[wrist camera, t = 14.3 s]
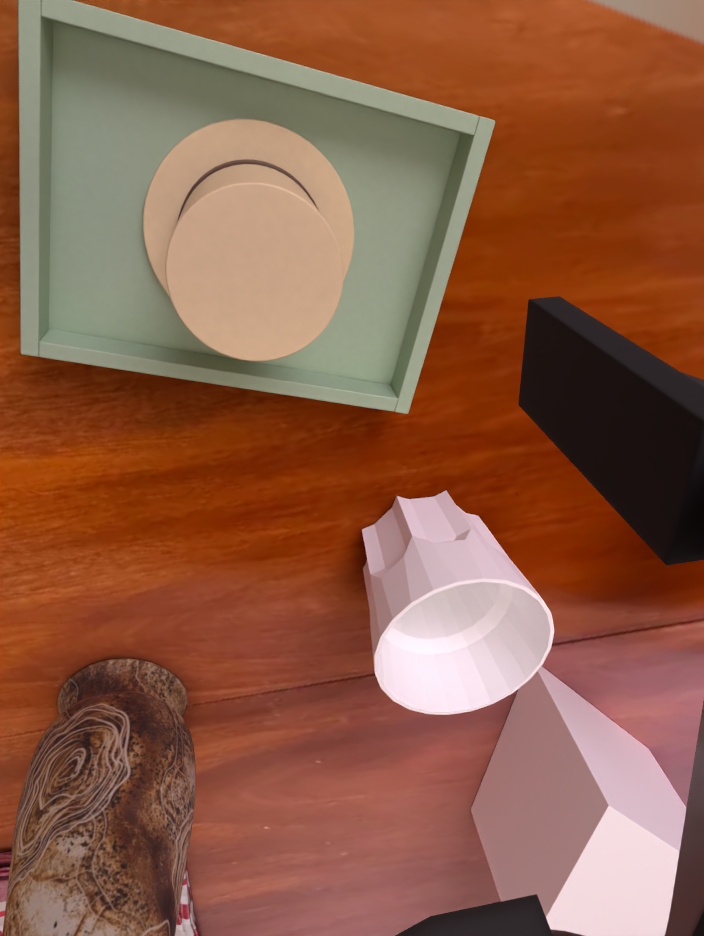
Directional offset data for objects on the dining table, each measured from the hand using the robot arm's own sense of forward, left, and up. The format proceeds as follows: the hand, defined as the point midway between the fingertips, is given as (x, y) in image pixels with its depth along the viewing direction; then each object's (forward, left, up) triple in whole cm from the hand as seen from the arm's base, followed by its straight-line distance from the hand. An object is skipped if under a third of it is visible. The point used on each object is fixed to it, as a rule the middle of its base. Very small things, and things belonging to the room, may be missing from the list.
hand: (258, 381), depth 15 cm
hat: (0, 0, -19) cm, 19 cm away
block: (+52, -19, -20) cm, 59 cm away
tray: (0, 0, -20) cm, 20 cm away
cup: (+21, -8, -20) cm, 30 cm away
